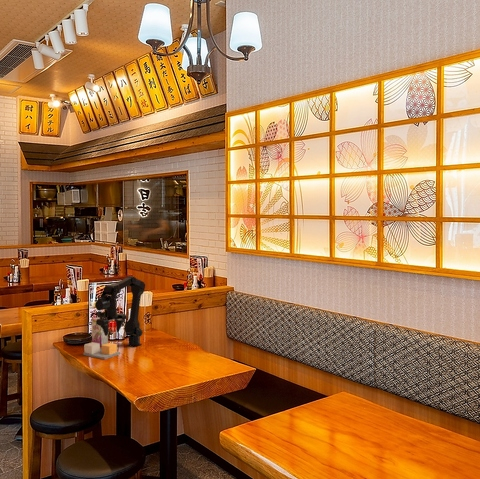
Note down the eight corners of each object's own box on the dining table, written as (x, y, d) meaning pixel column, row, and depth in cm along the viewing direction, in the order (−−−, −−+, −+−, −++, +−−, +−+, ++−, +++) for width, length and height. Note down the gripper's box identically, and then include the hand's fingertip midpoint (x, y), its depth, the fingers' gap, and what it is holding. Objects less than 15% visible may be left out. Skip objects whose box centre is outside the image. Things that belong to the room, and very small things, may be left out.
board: (98, 349, 295) (98, 340, 295) (120, 354, 287) (119, 344, 286) (83, 355, 285) (83, 345, 285) (104, 359, 277) (104, 349, 276)
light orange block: (117, 351, 287) (116, 344, 286) (109, 354, 282) (109, 346, 281) (109, 350, 290) (109, 342, 289) (101, 353, 285) (101, 345, 284)
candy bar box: (91, 344, 307) (90, 318, 306) (98, 343, 310) (98, 317, 309) (101, 348, 299) (100, 321, 298) (108, 346, 303) (108, 319, 302)
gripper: (113, 302, 297) (113, 328, 298) (88, 308, 281) (89, 335, 282) (126, 304, 291) (127, 331, 292) (102, 310, 275) (103, 338, 276)
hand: (112, 333), depth 286 cm, fingers open, 9 cm apart
